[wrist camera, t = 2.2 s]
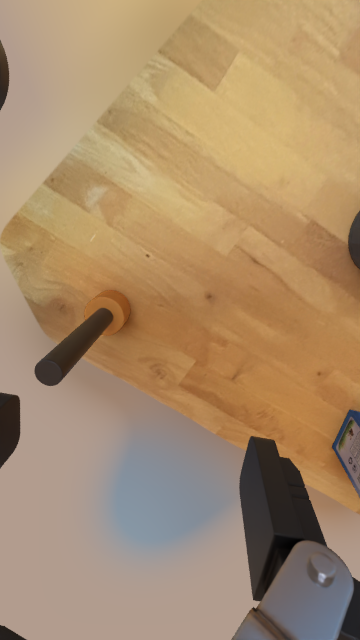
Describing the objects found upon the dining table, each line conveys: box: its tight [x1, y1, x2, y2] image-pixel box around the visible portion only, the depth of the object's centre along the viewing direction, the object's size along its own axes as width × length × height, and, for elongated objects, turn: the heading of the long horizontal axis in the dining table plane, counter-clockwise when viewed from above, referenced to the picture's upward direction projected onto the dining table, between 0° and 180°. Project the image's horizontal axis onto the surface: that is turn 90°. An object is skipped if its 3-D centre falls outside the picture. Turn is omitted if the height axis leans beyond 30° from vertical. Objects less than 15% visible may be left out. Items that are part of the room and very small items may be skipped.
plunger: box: [35, 290, 130, 386], centre depth 34 cm, size 5×5×18 cm
